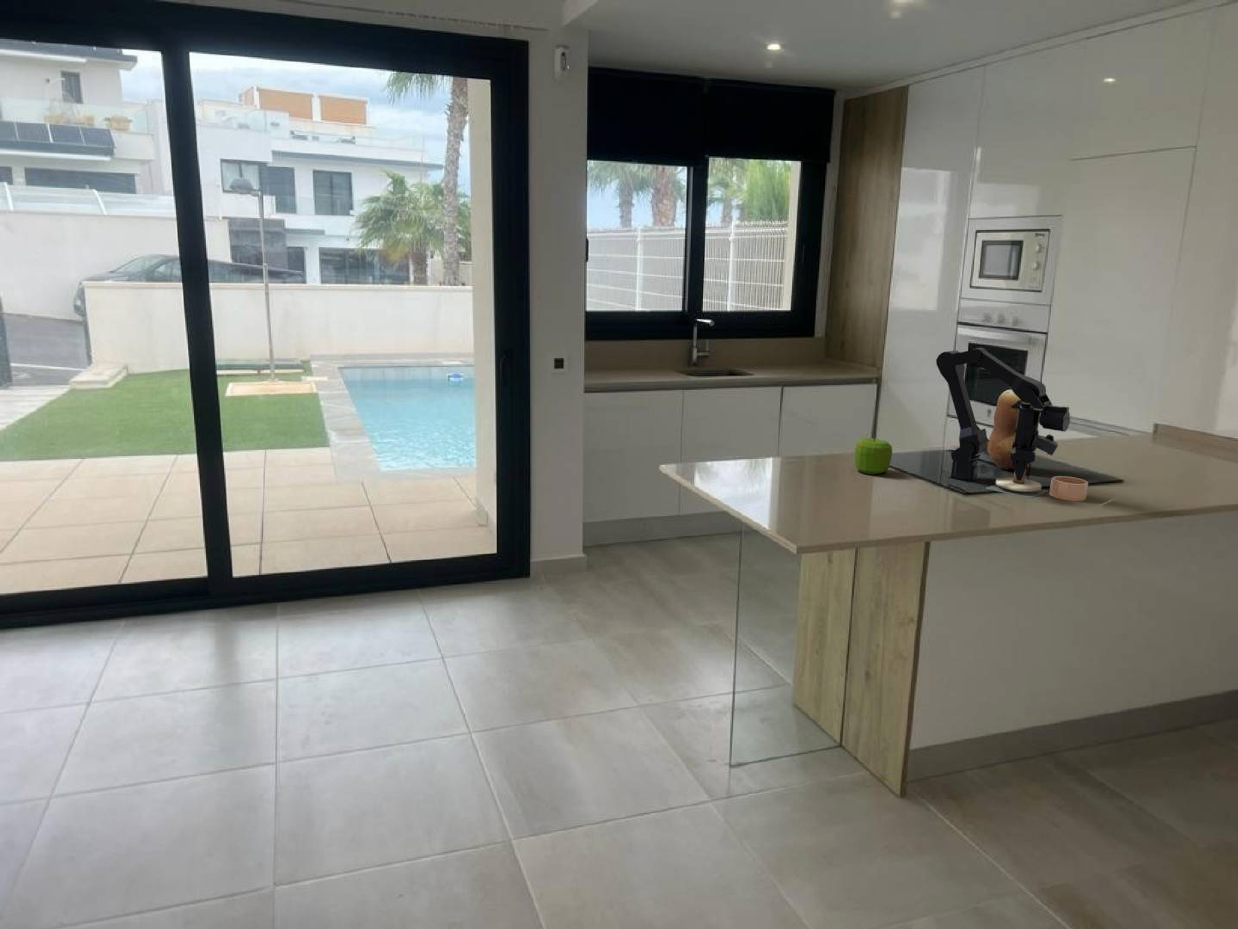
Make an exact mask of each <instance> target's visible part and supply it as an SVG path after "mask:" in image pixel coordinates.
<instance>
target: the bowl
mask: <svg viewBox="0 0 1238 929" xmlns="http://www.w3.org/2000/svg"><path fill="white" fill-rule="evenodd" d="M1050 481H1051V482H1050V486H1049V492H1048V493H1049V495H1050V496H1051V497H1053V498H1056V499H1060V500H1064V501H1073V502H1081V501H1082V502H1083V501H1086V500H1087V494H1088V488H1089V482H1088V481H1087V480H1085V479H1083V478H1079V477H1078V478H1077V477H1073V476H1066V475H1063V476H1062V475H1060V476H1059V475H1056V476H1053V477H1051V480H1050Z"/></svg>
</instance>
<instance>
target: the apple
mask: <svg viewBox="0 0 1238 929" xmlns="http://www.w3.org/2000/svg"><path fill="white" fill-rule="evenodd" d="M892 455H893V448H892V444H890V443H889V442H888V441H886V440H883V439H878V438H875V437H872V438H867V437H866V438H861V439H860V440H858V441H857V442H856V444H855V447H854V455H853V456H854V467H856V468H857V469H858V471H859V472H861V473H864V474H867V475H879V474H882V473H884V472H887V471H888V470H889V468H890V466H891V462H892V461H891V460H892Z"/></svg>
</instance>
